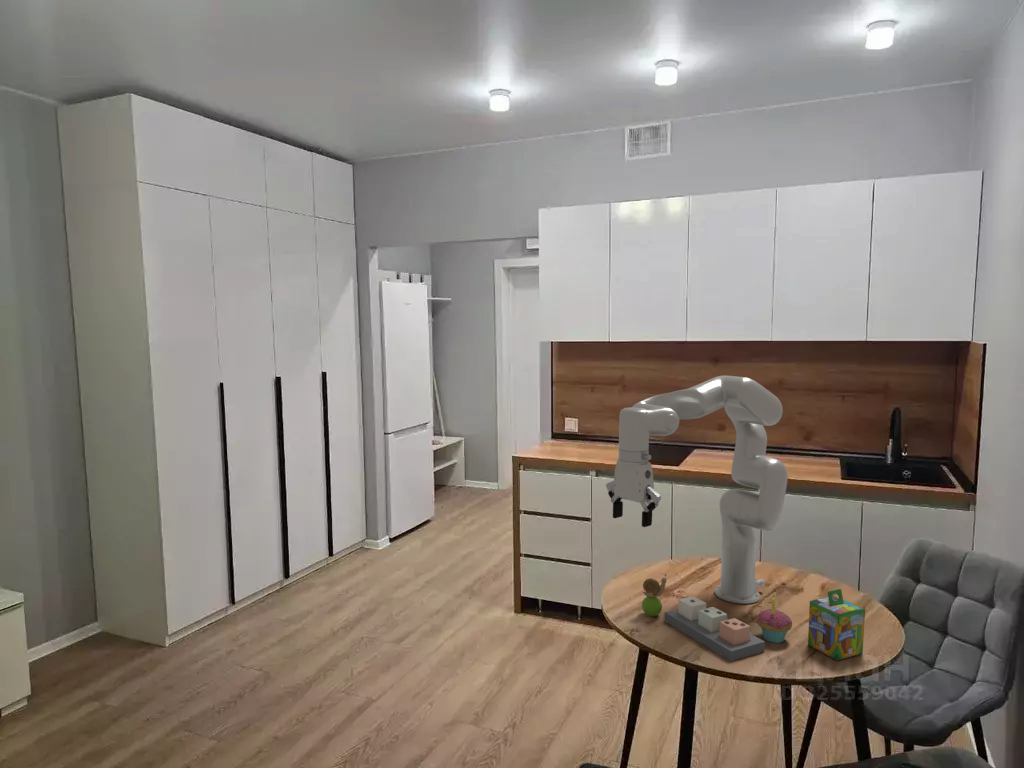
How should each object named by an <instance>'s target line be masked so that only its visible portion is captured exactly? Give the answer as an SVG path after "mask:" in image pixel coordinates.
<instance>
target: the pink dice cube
mask: <svg viewBox="0 0 1024 768" xmlns="http://www.w3.org/2000/svg"><path fill="white" fill-rule="evenodd" d="M750 634H751V625H749V624H747V623H745V622H743V621H742V620H739V619H737V618H736V617H734V618H730V619H727V620H725V621H722V622H720V632H719V637H720V638H722V639H724V640H725V641H727V642H729V643H731V644H732V645H734V646H735V645H739V644H742V643H746V642H749V641H750Z"/></svg>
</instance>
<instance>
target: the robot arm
mask: <svg viewBox="0 0 1024 768" xmlns="http://www.w3.org/2000/svg"><path fill="white" fill-rule="evenodd" d="M722 408H724V410H725V414H726V415H727V416H728V418H729V420H731V422H732V424H733V426H734V429H735V432H736V439H735V446H734V447H735V448H734V451H733V458H732V465H731V469H730V470H731V471H730V473H731V479H732V480H733V481H734V482H735V483H736V484H739V485H741V486H745V487H749V488H753V489H756V490H759V492H758V493H755V492H754V491H753V492H752V491H748V490H744V489H740V488H731V489H727V490H726V491H724V493H723V494H722V495H721V497H720V500H719V514H720V518H721V528H722V529H721V530H722V532H721V533H722V534H721V535H722V536H721V558H720V559H721V563H720V564H721V565H720V566H721V567H720V584H719V585H717V586H715V588H714V594H715V596H717V597H718V598H719V599H721V600H723V601H726V602H730V603H733V604H741V605H742V604H745V605H747V604H754V603H756V602H758V601H759V600H760V599H761V598H760V595H761V594H760V592H759V591H758V588H759V587H763V586H765V585H766V583H767V582H766V580H765V579H763V578H761V579H757V580H756V576H755V575H756V558H757V557H756V556H757V555H756V554H757V533H756V531H755V529H758V530H760V531H765V532H766V531H770V532H771V531H772V530H774V529H775V528H777V527H778V524H779V523H780V520H781V518H782V513H783V508H784V502H785V497H786V491H787V485H788V471H787V467H786V466H785V464H784V463H783V462H782V461H781V460H779V459H776V458H775V457H770V456H769V457H768V456H766V454H767V453H766V452H767V444H768V435H767V432H766V429H765V427H764V426H768V427H769V426H771V427H772V426H774V425H776V424H777V423H779V422H780V420H781V419H782V416H783V413H784V412H783V411H784V410H783V405H782V402H781V401H780V399H779V398H778V397H777V396H776V395H775V394H774V393H772V392H771V391H770V390H768V389H767V388H766V387H764V386H763V385H761V384H760V383H759V382H757V381H755V380H754V379H751V378H749V377H745V376H735V375H734V376H733V375H719V376H717V375H716V376H715V377H712V378H710V379H708V380H706V381H703V382H701V383H698V384H696V385H694V386H691V387H688V388H685V389H680V390H675V391H671V392H665V393H661V394H657V395H652V396H649V397H647V398H645V399H643V400H641V401H638V402H636V403H634V404H633V405H632V406H631V407H624V408H622V409H621V410H620V412H619V418H618V419H619V420H618V421H619V422H618V423H619V426H618V428H619V429H618V436H619V437H618V459H617V460H616V464H615V468H614V476H613V480H612V481H610V482H607V483H606V485H605V487H606V490H607V493H608V497H609V498H610V502H611V503H612V518H613V519H618V518H621V517H623V516H624V514H623V513H624V512H623V511H624V503H623V501H622V500H623V499H624V500H627V501H630V502H634V503H638V504H640V506H641V507H642V509H643V511H642V512H641V527H642V528H646V527H650V526H652V523H653V511H654V510H655V509H656V508H657V507H658V506H659V504H660V501H661V499H662V496H661V495H660V494H659V493H658V491H656V490H655V488H654V487H655V485H654V483H655V482H654V472H653V467H652V463H651V462H649V461H650V460H652V455H651V454H649V452H650V450H649V447H650V443H649V442H650V441H649V440H650V436H661V437H666V436H669V435H671V434H674V433H675V432H676V431H677V429H678V428H679V425H680V420H694V419H699V418H703V417H705V416H706V415H707V416H708V415H709V414H711V413H713V412H716V411H718V410H720V409H722Z"/></svg>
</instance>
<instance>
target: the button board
mask: <svg viewBox="0 0 1024 768" xmlns="http://www.w3.org/2000/svg"><path fill="white" fill-rule="evenodd" d="M678 613H679V608H676V609H672V610H668V611H665V612H664V622H665V623H666V624H668V625H670V626H671V627H673V628H675V629H677V630H679V631H680V632H682V633H684V634H685V635H687V636H688V637H690V638H692V639H693V640H695V641H697V642H698V643H700V644H701V645H703V646H704V647H706V648H707V649H708V648H709V650H712V651H714V652H715V653H717V654H718V655H720V656H721V657H723V658H725V659H726V660H728V661H730V662H734V661H737V660H740V659H744V658H748V657H750V656H754V655H757V654H760V653H764V652H765V649H766V648H765V645H766V642H765V641H764V640H763V639H761V638H759V637H757V636H755V635H754V634H751V633H750V641H749V642H746V643H742V644H739V645H735V646H734V645H732V644H731V643H729V642H727V641H725V640H724V639H722V638H720V637H719V632H720V631H717V632H713V633H711V632H710V631H708V630H706V629H704V628H703V627H701V626H699V625H698V619H697V620H693V621H690V620H689V619H687V618H685V617H684V616H682V615H680V614H678Z"/></svg>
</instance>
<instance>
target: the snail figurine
mask: <svg viewBox="0 0 1024 768" xmlns="http://www.w3.org/2000/svg"><path fill="white" fill-rule="evenodd" d="M660 581H661V583H659V582H658V580H657V579H655V578H647V579H645V580H644V581H643V583H642V588H643V590H644V591H642V594H643V595H644V596H645V597H644V598H643V599H642V602H641V608H642V611H643V613H644V614H645V615H647V616H649V617H657V616H658V615H660V614H661V612H662V608H663V604H662V601H661V599H660V598H659V596H661V595H662V594H663V593H664V591H665V587H666V583H667V573H664V577H662V578H661V579H660Z"/></svg>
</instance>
